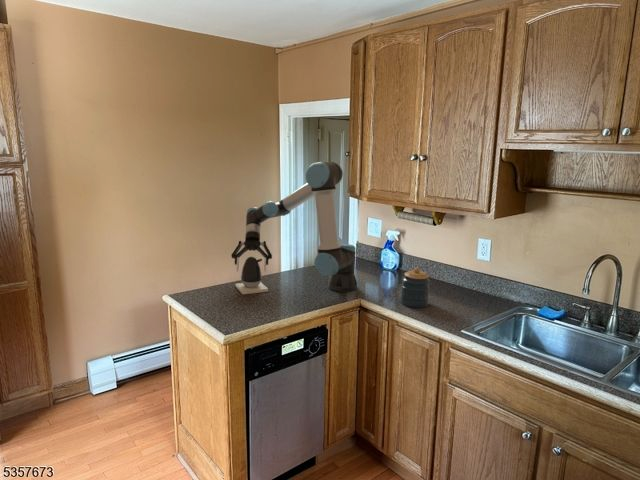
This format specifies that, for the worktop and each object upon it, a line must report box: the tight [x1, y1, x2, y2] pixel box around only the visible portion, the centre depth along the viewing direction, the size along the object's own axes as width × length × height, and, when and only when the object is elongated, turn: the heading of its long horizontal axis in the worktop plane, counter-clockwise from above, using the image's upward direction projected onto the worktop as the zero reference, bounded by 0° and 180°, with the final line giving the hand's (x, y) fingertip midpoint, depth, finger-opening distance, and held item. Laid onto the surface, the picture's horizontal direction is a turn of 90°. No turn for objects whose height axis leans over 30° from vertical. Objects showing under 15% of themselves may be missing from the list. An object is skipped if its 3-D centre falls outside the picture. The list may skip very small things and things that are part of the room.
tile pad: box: [235, 281, 269, 295], centre depth 223 cm, size 13×13×2 cm
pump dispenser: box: [240, 256, 263, 288], centre depth 222 cm, size 10×10×15 cm
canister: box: [400, 267, 431, 309], centre depth 209 cm, size 13×13×18 cm
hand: (251, 270), depth 220 cm, fingers open, 13 cm apart
